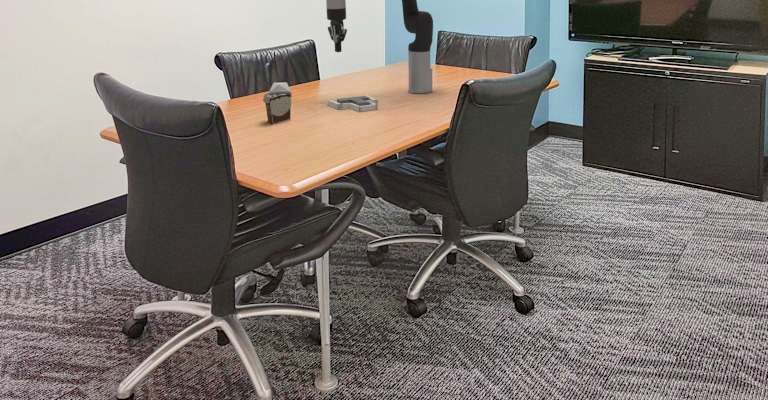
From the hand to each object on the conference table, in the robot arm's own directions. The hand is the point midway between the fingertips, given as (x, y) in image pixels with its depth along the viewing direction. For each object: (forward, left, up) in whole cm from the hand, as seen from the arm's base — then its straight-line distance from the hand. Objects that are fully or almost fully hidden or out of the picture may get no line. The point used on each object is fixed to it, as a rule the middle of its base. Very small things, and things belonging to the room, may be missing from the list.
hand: (338, 51), depth 301 cm
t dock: (0, +15, -19) cm, 25 cm away
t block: (0, +16, -19) cm, 25 cm away
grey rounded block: (+22, -9, -20) cm, 31 cm away
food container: (+36, +20, -20) cm, 46 cm away
